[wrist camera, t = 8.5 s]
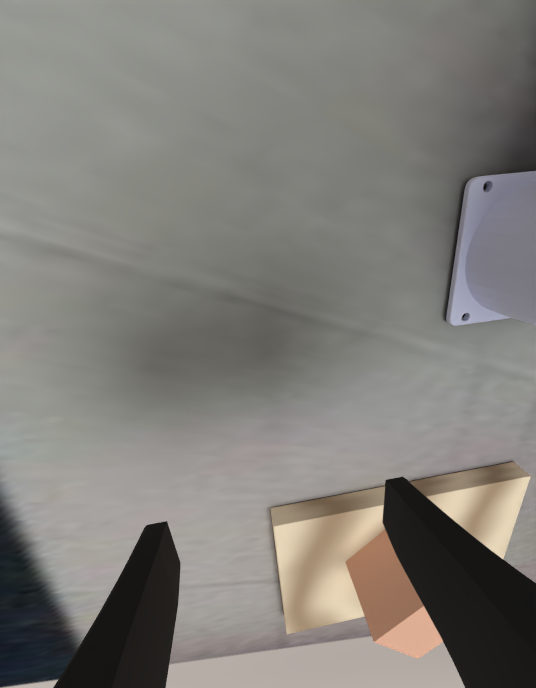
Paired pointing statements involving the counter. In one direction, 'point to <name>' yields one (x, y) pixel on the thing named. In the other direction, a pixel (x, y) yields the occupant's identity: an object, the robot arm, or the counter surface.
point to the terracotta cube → (391, 600)
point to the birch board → (366, 523)
